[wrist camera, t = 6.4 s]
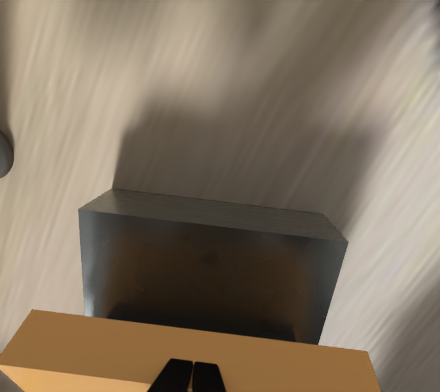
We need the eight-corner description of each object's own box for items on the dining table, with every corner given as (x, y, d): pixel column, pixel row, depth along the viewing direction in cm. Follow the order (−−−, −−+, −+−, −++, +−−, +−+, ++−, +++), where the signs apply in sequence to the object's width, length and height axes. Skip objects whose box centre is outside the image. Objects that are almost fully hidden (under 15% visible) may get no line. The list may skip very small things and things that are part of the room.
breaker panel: (323, 214, 13) (362, 257, 9) (280, 383, 17) (295, 466, 13) (111, 188, 13) (59, 220, 9) (114, 362, 17) (78, 438, 13)
